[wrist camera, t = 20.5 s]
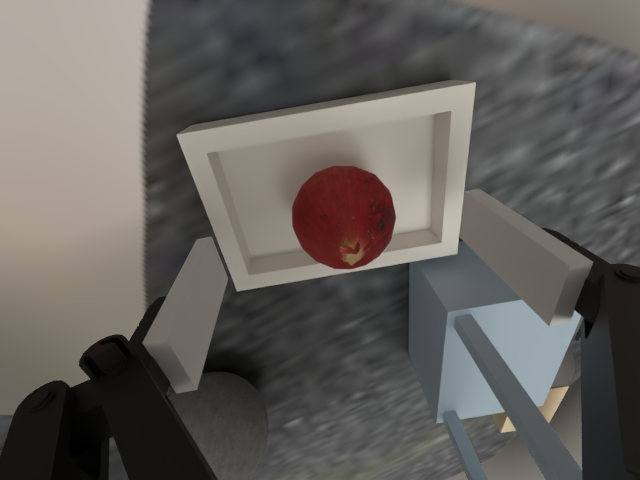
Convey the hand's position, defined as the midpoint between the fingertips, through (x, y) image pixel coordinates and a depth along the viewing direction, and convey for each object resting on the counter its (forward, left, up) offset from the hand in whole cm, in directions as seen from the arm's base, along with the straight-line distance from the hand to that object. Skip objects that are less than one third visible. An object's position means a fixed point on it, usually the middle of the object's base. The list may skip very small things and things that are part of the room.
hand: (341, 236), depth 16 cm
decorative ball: (-14, -19, -7) cm, 24 cm away
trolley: (+12, -14, -6) cm, 19 cm away
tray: (0, 0, -6) cm, 6 cm away
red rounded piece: (0, 0, -6) cm, 6 cm away
